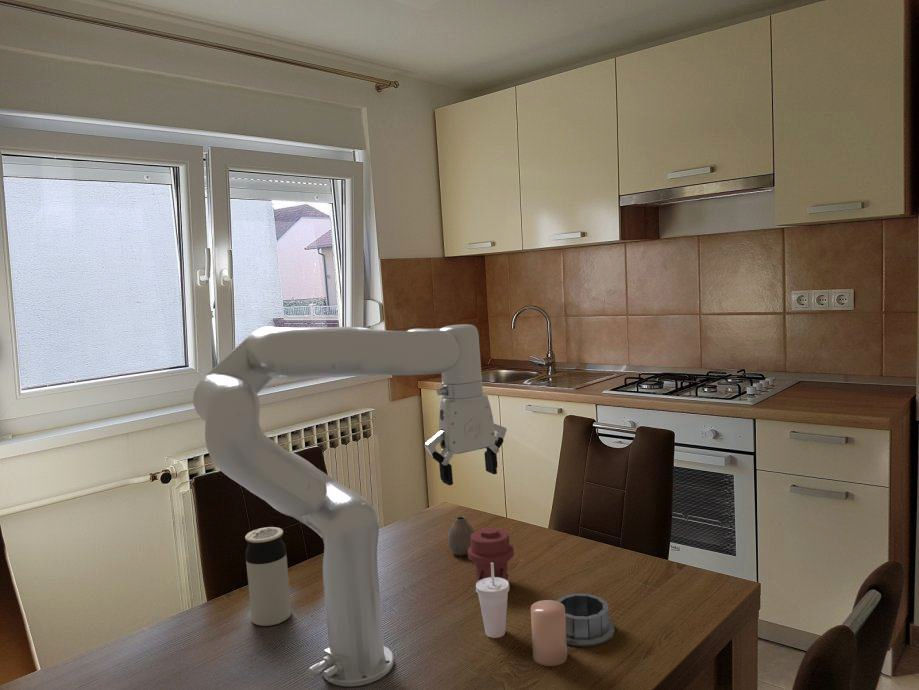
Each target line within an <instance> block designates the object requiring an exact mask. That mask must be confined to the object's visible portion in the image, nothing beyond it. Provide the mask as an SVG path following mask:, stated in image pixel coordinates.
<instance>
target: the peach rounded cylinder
mask: <svg viewBox="0 0 919 690" xmlns="http://www.w3.org/2000/svg"><path fill="white" fill-rule="evenodd" d="M530 622H531V625H530V626H531V637H532V638H531V639H532V642H531V643H532V658H533V660H534V662H536V663H537V664H538V665H541V666H545V667H556V666H560V665H563V664H564V663H565V662H566V661H567V659H568V645H567V641H566V619H565V606H564V605H563V604H562V603H560V602H558V601H556V600H553V599H544V600H538V601H536V602H534V603H533V604H531V606H530Z"/></svg>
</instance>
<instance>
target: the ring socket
mask: <svg viewBox="0 0 919 690" xmlns="http://www.w3.org/2000/svg"><path fill="white" fill-rule="evenodd" d="M555 601H558V602H560V603H562V604H563V605H564V606H565V619H566V641H567V646H570V647H579V648H590V647H591V648H592V647H598V646H602V645H604V644H606V643H607V642H610V640H612V639H613V638H614V636H615V632H616V631H615V628H616V627H615V624H614V622H613V621H612V620H611V619H610V617H609V616H610V615H609V603H608V602H607V601H606V600H605V599H603V598H602V597H600V596H597V595H594V594H590V593H571V594H565V595H562V596H560V597H559V598H558V599H556V600H555Z"/></svg>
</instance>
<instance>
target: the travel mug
mask: <svg viewBox="0 0 919 690" xmlns="http://www.w3.org/2000/svg"><path fill="white" fill-rule="evenodd" d="M283 534H284V530H283V529H282V528H280V527H275V526H268V527H267V526H266V527H261V528H257V529H253V530H252V531H251V530H250V531H249V532H247V534H246V535H245V536H244V539H245V541H247V546H246V549H245V564H246V573H247V587H248V594H249V605H250V615H251V616H250V618H251V622H252V623H253V624H255V625H257V626H261V627H270V626H275V625H279V624H281V623H283V622H285V621H286V620H288V619H289V618H290V617H291V616H292V605H291V604H292V602H291V591H290V580H289V568H288V557H287V546H286V544H285V543H284V541H283V539H282V537H283Z"/></svg>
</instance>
